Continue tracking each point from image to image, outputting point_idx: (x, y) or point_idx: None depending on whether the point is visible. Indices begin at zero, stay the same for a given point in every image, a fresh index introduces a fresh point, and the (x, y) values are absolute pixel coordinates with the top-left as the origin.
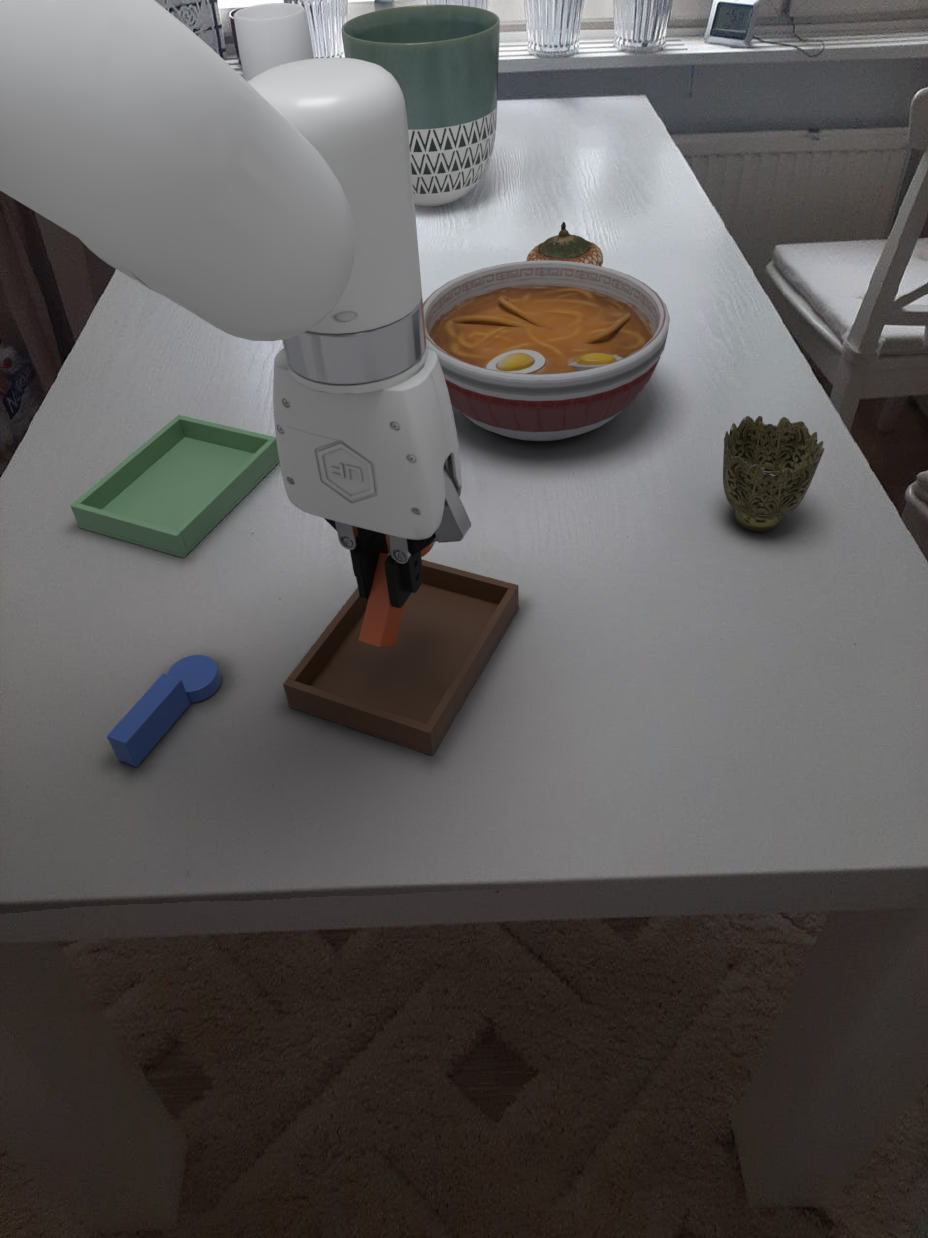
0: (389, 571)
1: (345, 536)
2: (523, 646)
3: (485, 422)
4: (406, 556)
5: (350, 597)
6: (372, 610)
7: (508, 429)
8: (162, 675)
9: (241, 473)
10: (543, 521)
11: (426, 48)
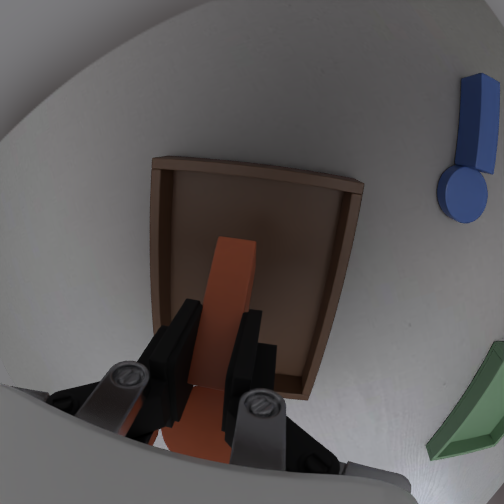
0: (166, 347)
1: (262, 417)
2: (143, 313)
3: None
4: (110, 372)
5: (327, 337)
6: (234, 289)
7: None
8: (493, 170)
9: (457, 429)
10: None
11: None
